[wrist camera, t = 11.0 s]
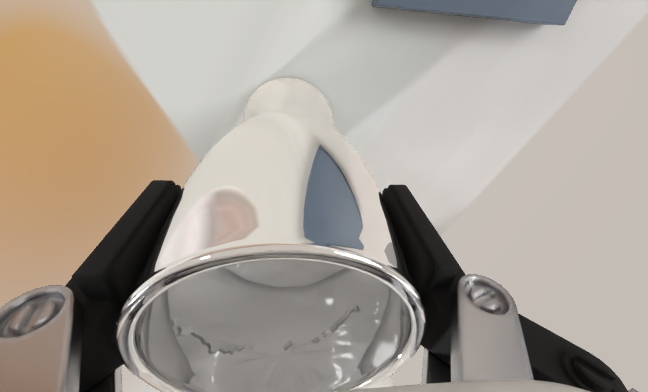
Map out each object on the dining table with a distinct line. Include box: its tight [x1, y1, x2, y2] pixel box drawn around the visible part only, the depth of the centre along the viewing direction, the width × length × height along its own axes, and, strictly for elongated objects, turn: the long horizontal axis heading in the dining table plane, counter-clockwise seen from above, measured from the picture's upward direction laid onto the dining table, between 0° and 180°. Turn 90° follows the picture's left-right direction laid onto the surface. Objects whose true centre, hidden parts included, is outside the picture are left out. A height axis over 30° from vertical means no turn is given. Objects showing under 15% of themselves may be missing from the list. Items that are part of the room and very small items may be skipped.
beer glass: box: [114, 78, 427, 392], centre depth 12 cm, size 7×7×15 cm
